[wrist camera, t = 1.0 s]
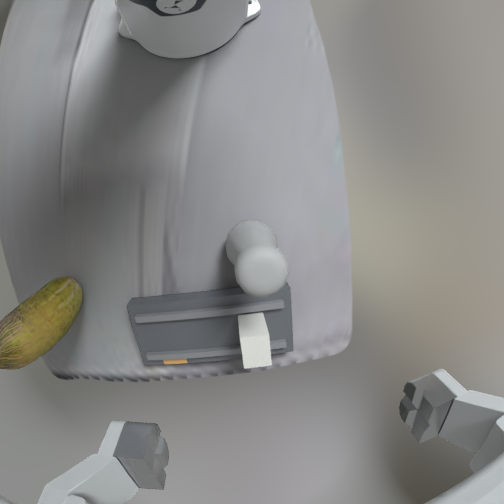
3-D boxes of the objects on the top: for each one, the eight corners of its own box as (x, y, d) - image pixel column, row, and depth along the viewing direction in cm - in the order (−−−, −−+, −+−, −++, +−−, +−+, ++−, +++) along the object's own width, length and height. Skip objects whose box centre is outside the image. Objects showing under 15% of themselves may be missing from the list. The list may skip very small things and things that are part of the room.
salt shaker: (251, 274, 35) (264, 323, 23) (215, 244, 34) (208, 280, 21) (283, 239, 35) (315, 270, 22) (248, 207, 33) (261, 221, 21)
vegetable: (99, 281, 34) (10, 362, 14) (91, 319, 35) (18, 409, 16) (63, 264, 33) (-35, 326, 13) (57, 302, 34) (-25, 376, 15)
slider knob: (237, 315, 33) (239, 338, 28) (262, 311, 34) (269, 334, 28) (241, 343, 34) (244, 368, 29) (265, 340, 35) (271, 365, 29)
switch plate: (132, 298, 35) (124, 308, 32) (286, 281, 36) (291, 290, 33) (148, 355, 37) (143, 368, 34) (289, 341, 38) (294, 354, 35)
